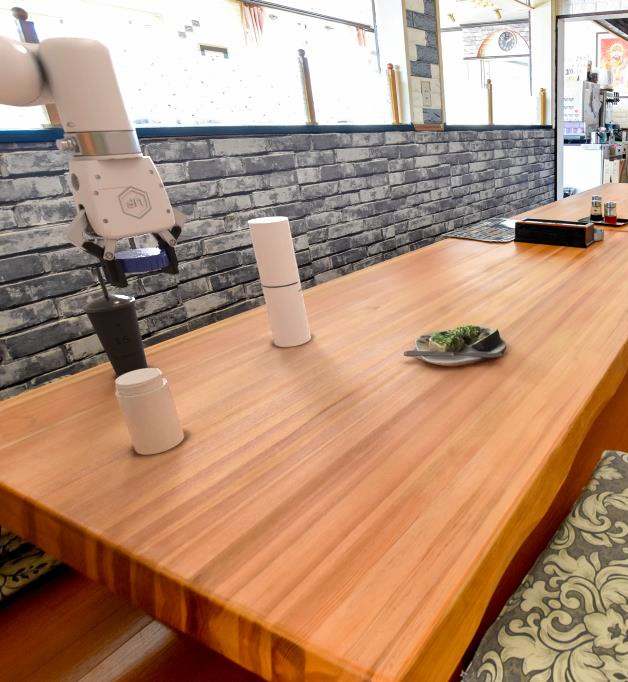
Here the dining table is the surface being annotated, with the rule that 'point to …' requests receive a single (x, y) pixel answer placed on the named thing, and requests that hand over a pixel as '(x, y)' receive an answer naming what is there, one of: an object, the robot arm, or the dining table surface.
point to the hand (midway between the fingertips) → (146, 278)
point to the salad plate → (459, 346)
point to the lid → (143, 259)
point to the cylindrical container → (280, 280)
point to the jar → (148, 411)
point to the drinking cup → (117, 329)
